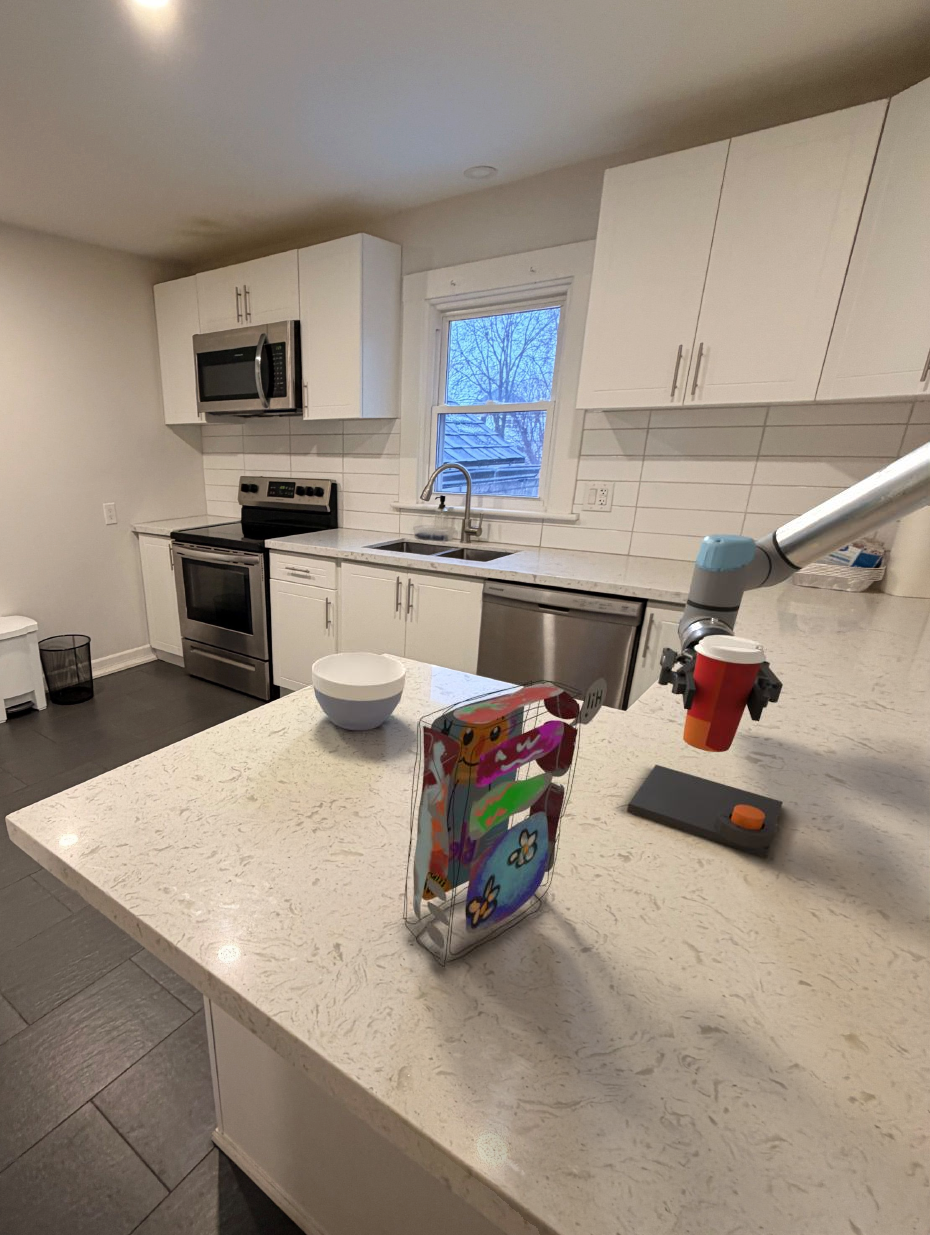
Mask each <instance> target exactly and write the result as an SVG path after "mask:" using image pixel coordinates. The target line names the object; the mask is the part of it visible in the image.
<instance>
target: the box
mask: <svg viewBox="0 0 930 1235" xmlns="http://www.w3.org/2000/svg"><path fill="white" fill-rule="evenodd" d="M540 682H542V683H540ZM535 683H536V684H535ZM546 683H550V684H553V685H555V686H553V685H550V684H546ZM526 685H529V686H526ZM561 685H562V686H561ZM522 686H523V687H522ZM563 686H565V687H567V688H565V687H563ZM520 687H522V688H520ZM516 688H520V689H519V690H516V691H514V692H511V693H505V694H502V695H498V696H494V697H490V698H486V699H482V698H485V697H488V696H490V695H492V694H497V693H501V692H504V691H508V690H511V689H512V690H513V689H516ZM568 688H570V689H572V690H570V689H568ZM607 688H608V686H607V681H606V680H605V678H604V677H601V678H598V679H596V680H595V681H594V682H592V684H591V685H590V687H589V688H588V690H587V691H586V694H584V699H583V702H582V705H581V706H580V703H578V701H577V700H576V699H575V698H577V697H578V696H579V695H580V696H583V694H582V690H580V689H578V688H575V687H572V686H569V685H567V684H564V683H561V682H556V681H552V680H547V679H546V680H545V679H541V680H536V681H533V680H532V679H531V680H528V681H527V682H525V683H522V684H520V685H517V686H512V687H508V688H504V689H500V690H495V691H491V692H487V693H483V694H480V695H476V696H472V697H470V698H467V699H465V700H462V701H458V702H456V703H454V704H451V705H448V706H446V707H445V708H444V707H443V708H442V709H441V708H440V709H439V710H436V711H433V712H430V713H429V714H427V715H423V716H422V717H420V718H419V719H417V720H418V724H417V727H416V754H415V762H414V767H413V775H412V785H411V798H410V800H411V802H410V818H411V820H410V824H409V825H410V828H409V830H410V839H409V845H408V856H407V868H406V876H405V877H406V878H405V886H404V896H405V897H404V900H403V913H402V914H403V916H402V919H403V920H404V921H405V922H404V923H405V924H404V925H405V926H404V927H406V928H407V929H408V931H409V932H410V933H411V934H412V935H413V936H414V938H415V941H416V942H417V943H418V944H419V945H420V946H421V947H422V948H424V949H425V950H426V951H427V952H429V953H430V955H431V956H432V957H433V959H434V961H436V962H437V963H438V965H440V966H441V967H442V968H445V967H446V962H448V963H450V962H454V961H456V960H458V959H461V958H463V957H465V956H467V955H468V954H470V953H471V952H473V950H475V949H477V948H478V947H480V946H482V945H485V944H487V943H489V942H491V941H493V940H495V939H497V938H498V937H499V936H501V935H502V934H503V933H504V932H506V931H507V930H509V929H511V928H514V927H515V926H516V925H518V924H519V923H521V922H522V921H523V920H524V919H526V918H527V917H529V915H532V914H534V913H536V912H538V911H539V909H540V908H541V906H542V901H541V900H542V898H543V897H544V896H545V894H546V893H547V892H548V890H549V889H550V886H551V884H552V882H553V876H554V872H555V871H554V870H555V865H556V861H557V857H558V851H559V843H560V837H561V835H560V834H561V826H562V825H561V824H562V818H563V817H564V815H565V812H566V809H567V806H568V803H569V800H570V796H571V794H572V789H573V784H574V783H573V782H574V779H575V778H574V777H575V772H576V766H577V762H578V756H579V751H580V750H579V749H580V740H581V739H580V738H581V724H582V725H585V726H586V725H588V724H590V723H591V722H592V721H593V719H594V718H595V717H596V716H597V714H598V713H599V711H600V710H601V708H602V706H603V704H604V702H605V700H606V696H607V690H608V689H607ZM565 690H566V691H568V692H570V693H573V694H576V695H574V696H572V695H571V694H569V693H568V692H566V691H565ZM573 690H575V691H576V692H575V691H573ZM477 699H478V701H474V700H477ZM479 699H482V700H479ZM471 701H473V702H471ZM541 701H543V705H540V703H541ZM465 702H470V703H467V704H465V705H462V706H459V707H456V706H458V705H459V704H463V703H465ZM537 702H538V703H537ZM535 703H537V704H538V706H536V707H531V705H532V704H535ZM525 706H528V708H527V709H526V710H525ZM455 707H456V708H455ZM544 707H545V709H546V711H544V712H541V713H539V708H544ZM453 708H454V709H453ZM446 709H447V710H446ZM451 709H452V710H451ZM535 709H536V710H537V711H536V715H534V716H532V717H530V718H528V715H529V711H531V710H535ZM444 710H446V711H444ZM441 711H444V712H443V713H442V715H439V716H438V717H437V718H435V719H434V720H433V722H432V723H430V722H427V721H424V720H422V719H423V718H425V717H429V716H431V715H433V714H436V713H439V712H441ZM525 713H526V715H525ZM546 713H549V714H550V715H552V716H553V717H555V718H558V719H560V720H555V719H554V720H553V719H552V720H548V721H544V723H543V724H541V725H540V726H536V725H537V720H538V717H539V716H542V715H543V714H546ZM524 715H525V719H524ZM534 718H535V721H534V722H535V723H534V727H533V728H532V729H530V730H527V731H525V725H526V722H528V721H530V720H531V719H534ZM562 720H572V722H570V723H567V722H565V721H562ZM421 722H423V723H424V724H427V725H429V726H430V727H428V726H427V725H422V728H421ZM577 725H579V726H578V727H577ZM421 729H422V730H421ZM422 732H423V736H422V734H421V733H422ZM577 736H578V744H577ZM422 737H423V774H422V785H421V786H422V788H421V792H420V794H421V795H420V800H419V807H418V812H417V813H418V814H417V829H416V830H417V833H416V844H415V850H414V856H413V870H412V871H413V897H412V908H413V912H414V916H416V918H417V919H418V921H416V922H415V923H413V922H409V921H408V920H407V918H408V874H409V864H410V858H411V850H412V842H413V841H412V838H413V837H412V834H413V826H414V817H415V816H414V815H415V808H416V802H417V796H418V789H419V788H418V787H419V781H420V780H419V779H420V770H421V760H422V744H421V743H422V742H421V740H422V739H421V738H422ZM576 745H577V751H576V757H575V763H574V769H573V775H572V778H571V784H570V777H571V770H572V766H573V760H574V755H575V748H576ZM418 750H419V751H418ZM418 752H419V764H418V774H417V783H416V792H415V797H414V785H415V784H414V783H415V771H416V767H417V762H418ZM533 761H535V763H536V764H537V766H538V767H539V768H540V769H541V770H542V771H543V772H542V773H540V774H537V775H534V776H532V777H529V778H528V774H529V770H530V766H531V762H533ZM526 764H528V768H527V772H526V775H525V776H526V777H525V779H524V780H523V779H522V780H521V779H520V780H519V775H520V769H521V767H523V766H524V765H526ZM568 771H569V773H568ZM567 773H568V780H567V786H566V792H565V786H564V785H563V784H560V783H559V784H557V783H555V782H553V777H555V778H560V777H564V776H565V775H566V774H567ZM569 784H570V790H569ZM568 790H569V791H570V792H569V794H568ZM567 795H568V798H567ZM413 797H414V805H413ZM566 798H567V800H566ZM528 809H529V814H527V815H525V816H524V819H523V820H520V821H519V822H517V823H516V824H514V825H513V822H514V815H516V814H519V813H523V812H524V811H526V810H528ZM510 817H511V818H512V819H511V825H510V828H509V824H510ZM557 833H558V834H557ZM556 843H557V845H556ZM555 850H556V851H555ZM551 870H552V873H551V878H549V874H550V871H551ZM546 873H547V881H546V883H544V884H543V885H541V884H542V882H543V880H544V876H545V875H546ZM549 879H550V882H549ZM466 883H468V886H466V887H464V888H462V889H461V890H460V891H459V892H457V888H458V887H460V886H461V885H464V884H466ZM548 883H549V885H548V887H547V889H546V890H545V892H544V893H543V894H542V895H541V896H540V898H539V896H537V895H536V893H537V891H538V890H539V887H544V886H546V885H547V884H548ZM466 889H467V891H466V892H467V893H466V899H465V900H463V901H460V902H456V897H457V896H458V895H460V894H461V893H462V892H463V891H464V890H466ZM450 891H452V892H451V898H450V899H448V900H447V894H446V893H448V892H450ZM533 896H535V897H536V899H537V900H536V901H535V902H533V904H531V905H530V906H529V907H528V908H526V909H525V910H524V911H523V912H522V913H520V914H519V915H518V916H516V917H514V918H513V919H511V920H509V921H508V922H506V923H505V924H503V925H500V926H499V927H498V928H496V929H495V930H493V931H491V932H490V933H489V934H487V935H486V936H484V937H483V938H481V939H480V940H478V941H476V942H473V943H472V944H470V945H468V946H466V947H465V948H463V949H462V950H460V951H458V952H456V953H452V952H451V943H452V932H453V920H454V911H455V906H457V905H459V904H461V903H462V904H463V903H464V902H465V909H464V910H465V911H464V912H465V913H464V914H465V915H464V916H465V932H466V933H467V935H472V934H476V933H479V932H482V931H486V930H488V929H490V928H492V927H494V926H495V925H497V924H499V923H500V922H502V921H504V920H506V919H507V918H509V917H511V916H513V915H514V913H516V912H517V911H518V910H519V909H520V908H521V907H523V906H524V905H525V904H526V903H527V902H528V901H530V900H531V898H532V897H533ZM436 898H438V899H439V900H441V901H442V903H441V904H440V905H439V906H437V905H436V904H434V903H432V902H431V901H429V900H433V899H436ZM422 900H424V901H427V902H426V903H427V904H426V905H427V908H428V911H429V912H430V913H429V914H426V915H425V916H423V917H421V913H422V912H421V911H422V910H421V904H422ZM448 902H450V905H449V906H448V907H446V908H444V909H443V910H442V909H441V908H440V907H441V906H443V905H444V904H445V903H448ZM538 902H539V903H540V904H539V905H538V908H537V909H536V910H534V911H532V912H530V913H527V914H526V915H525V916H524V917H522V918H521V919H520V920H518V922H516V923H514V924H513V925H511V926H509V927H508V928H506V929H504V930H503V931H502V932H500V933H499V934H498V935H496V936H495V937H492V938H491V939H489V940H487V941H484V942H482V941H483V940H485V939H487V938H488V937H489V936H491V935H492V934H493V933H495V932H496V931H498V930H499V929H501V928H503V927H504V926H507V925H508V924H510V923H511V922H513V921H515V920H516V919H518V918H519V917H521V916H522V915H523V914H525V913H526V912H528V910H529V909H531V908H532V907H533V906H535V905H536V903H538ZM449 908H450V909H449ZM448 909H449V910H450V911H449V919H448V917H447V915H446V913H445V912H444V911H446V910H448ZM430 915H433V916H434V919H432V920H431V921H429V920H428V921H427V922H426V925H425V927H424V928H423V929H422V930H421V931H420V932H419V933H418V934H417V935H415V934H414V933H413V931H412V930H411V929H410V928H409V927H408V926H407V923H408V924H410V925H416V924H418V923H419V922H421V921H422V920H423V919H425V918H426V917H428V916H430ZM436 919H438V920H439V921H440V922H441V923H442V924H443V925H444V926H447V927H448V928H447V937H446V938H447V939H446V940H445V937H444V934H443V933H442V931H441V930H440V929H439V928H438V927H437V926H435V925H434V924H433V922H434V921H435V920H436ZM424 930H426V933H427V935H428V936H429V938H430V939H431V941H432V942H433V943H434V944H435V945H436V946H437V947H438V948H440V949H444V948H445V956H444V957H445V958H444V960H442V959H441V958H440V957H439V956H437V955H436V954H435V953H433V951H431V950H429V948H428V947H427V946H426V945H425V944H424V943H423V942H422V941H421V940H420V939H419V938H418V937H419V935H420V934H422V932H423V931H424ZM449 935H450V936H449ZM445 941H446V942H445ZM480 942H482V943H480ZM448 943H449V946H448ZM478 943H480V944H478ZM476 944H478V945H476ZM474 945H476V946H475V947H473V948H471V950H469V951H468V952H467V953H465V954H463V955H461V956H459V957H456V958H453V959H451V960H447V952H448V950H449V953H450V955H451V956H457V955H458V954H459V955H460V954H461V953H462V952H464V951H465V950H466V949H468V948H470V947H472V946H474ZM445 946H446V947H445ZM448 947H449V948H448ZM438 960H440V962H441V961H442V962H443V964H441V963H440V962H439V961H438ZM446 960H447V961H446Z"/></svg>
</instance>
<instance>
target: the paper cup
mask: <svg viewBox="0 0 930 1235" xmlns="http://www.w3.org/2000/svg"><path fill="white" fill-rule="evenodd" d="M694 649H695V650H696V651H698V653H697V659H696V664H695V670H694V675H693V677H694V682H695V688H696V692H695V696H694V699H693V703H692V707H691V710H687V709H686V715H685V722H684V728H683V735H682V740H683V741H684V742H685V743H686V744H687V745H689V746H690V747H692V748H695V749H697V750H702V751H704V752H710V753H725V752H727V751H729V750H730V748H731V746H732V744H733V742H734V740H735V736H736V734H737V730H738V728H739V726H740V723H741V721H742V717H743V715H744V712H745V709H746V707H747V701H748V699H749V696H750V693H751V690H752V688H753V685H754V682H755V679H756V677H757V674H758V671H759V668H760V666H761V663H762V662H764V661H767V656H766V654H765V651H764V646H763V645H762V644H761V643H760V642H757V641H755V640H753V639H748V638H745V637H740V636H736V635H735V636H726V635H712V636H706V637H704V638H703V640H700V641H699V644H698V645H696V646H695V648H694Z"/></svg>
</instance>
